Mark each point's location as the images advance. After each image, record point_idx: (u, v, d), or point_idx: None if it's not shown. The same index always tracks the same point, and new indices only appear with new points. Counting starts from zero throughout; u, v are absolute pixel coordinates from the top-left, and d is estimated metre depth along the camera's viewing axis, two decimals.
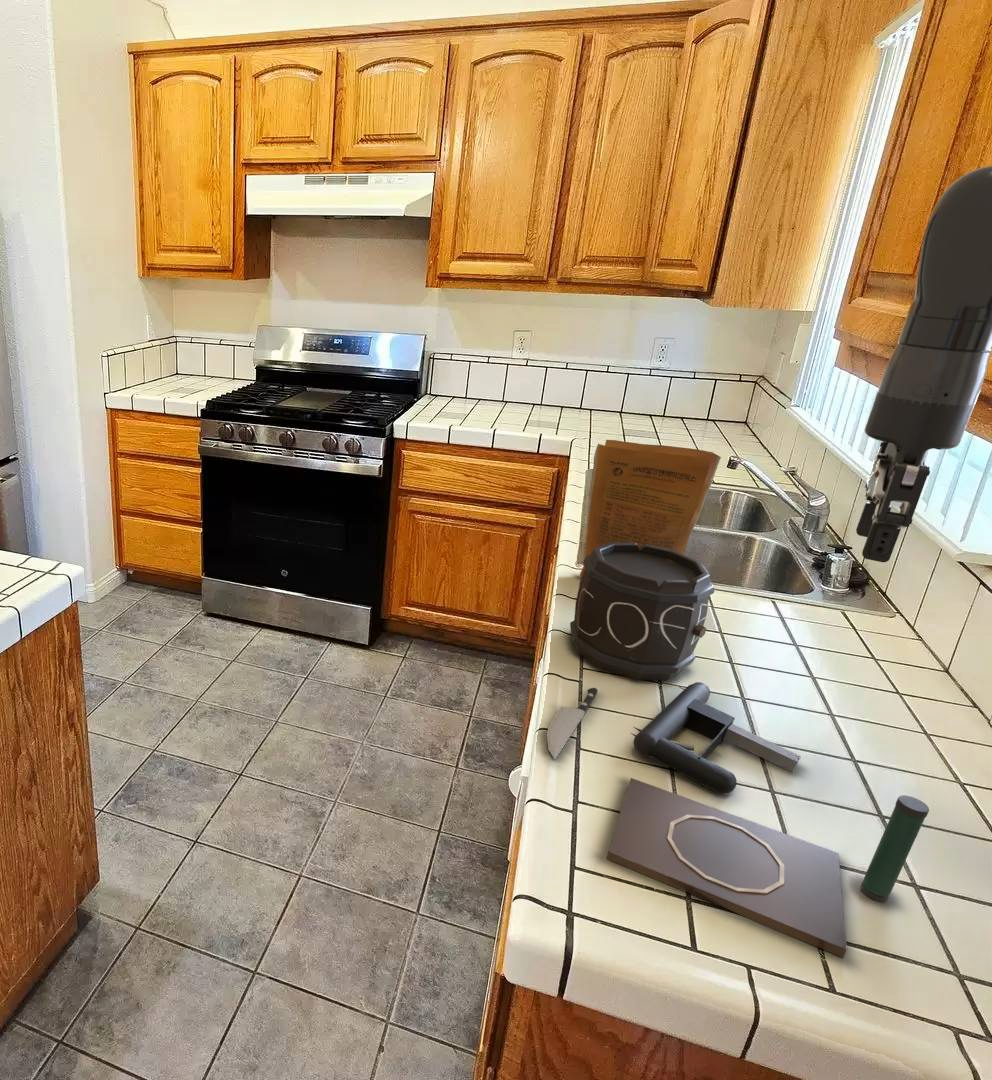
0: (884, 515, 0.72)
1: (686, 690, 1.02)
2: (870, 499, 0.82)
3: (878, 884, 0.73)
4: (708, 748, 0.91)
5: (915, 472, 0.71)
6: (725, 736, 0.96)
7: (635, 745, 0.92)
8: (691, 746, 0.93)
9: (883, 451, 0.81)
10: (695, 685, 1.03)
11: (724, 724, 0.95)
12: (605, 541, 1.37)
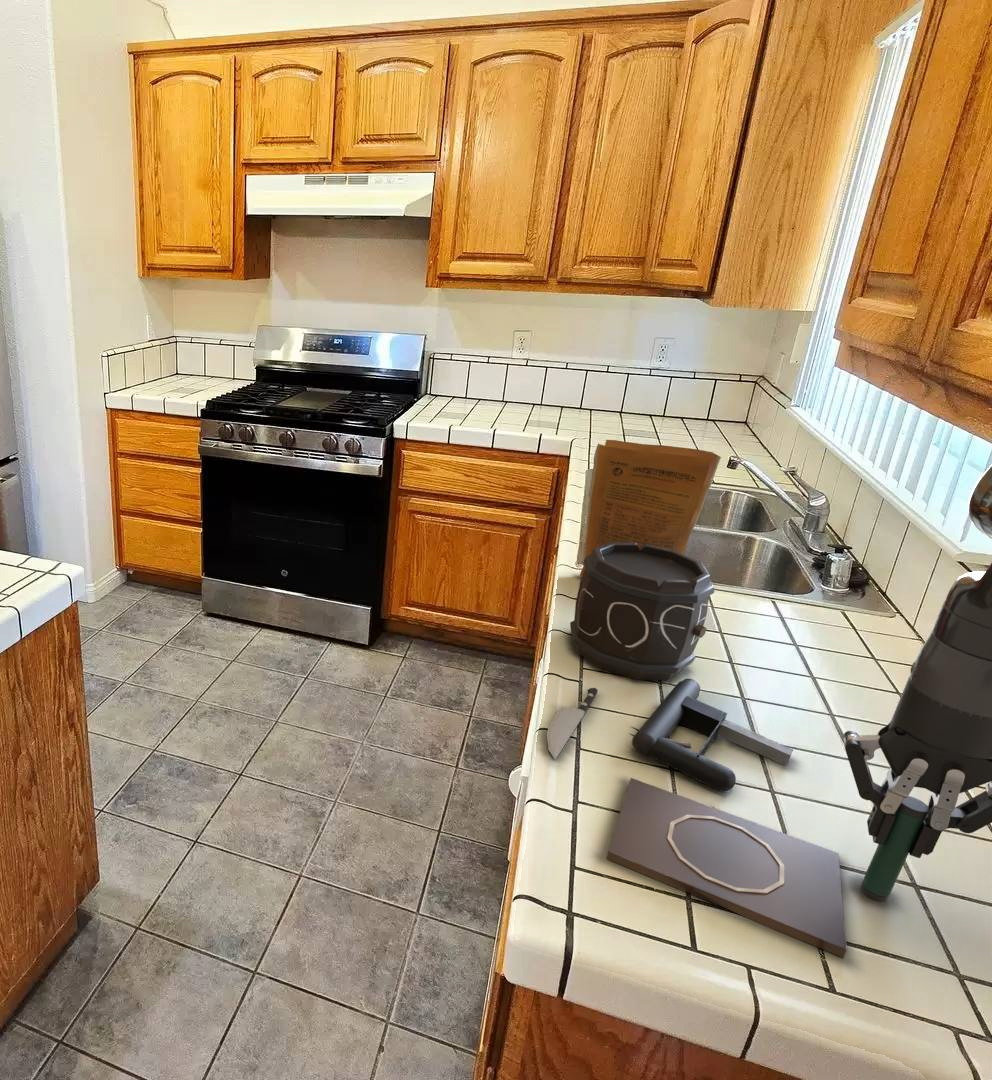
0: None
1: (677, 687, 1.03)
2: None
3: (878, 884, 0.73)
4: (705, 745, 0.91)
5: (845, 744, 0.72)
6: (719, 732, 0.97)
7: (634, 745, 0.92)
8: (688, 744, 0.93)
9: None
10: (686, 681, 1.04)
11: (718, 720, 0.96)
12: (605, 541, 1.37)
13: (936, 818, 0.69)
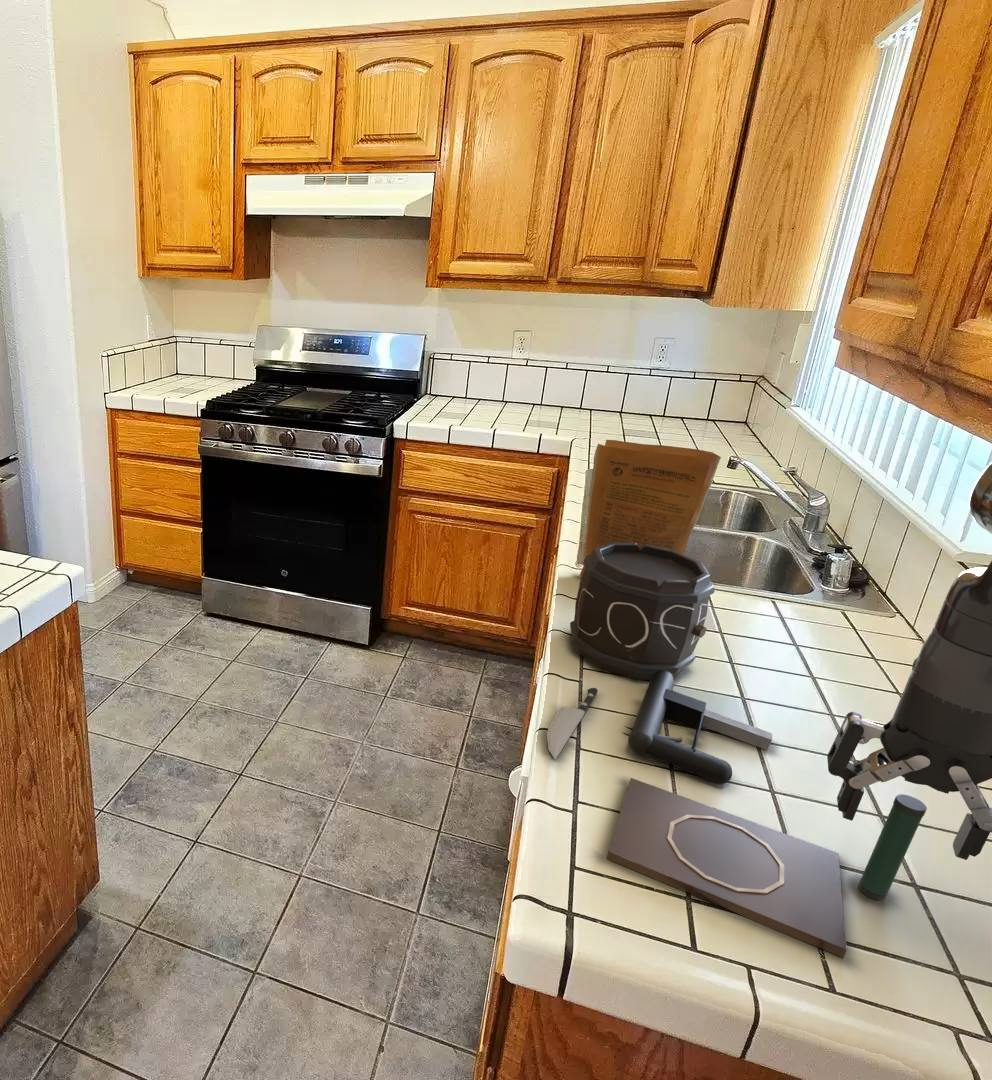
0: (828, 754, 0.74)
1: (655, 680, 1.04)
2: None
3: (876, 883, 0.73)
4: None
5: (847, 722, 0.71)
6: None
7: (632, 745, 0.92)
8: (679, 738, 0.94)
9: None
10: (661, 674, 1.06)
11: (700, 711, 0.98)
12: (605, 541, 1.37)
13: (980, 819, 0.67)
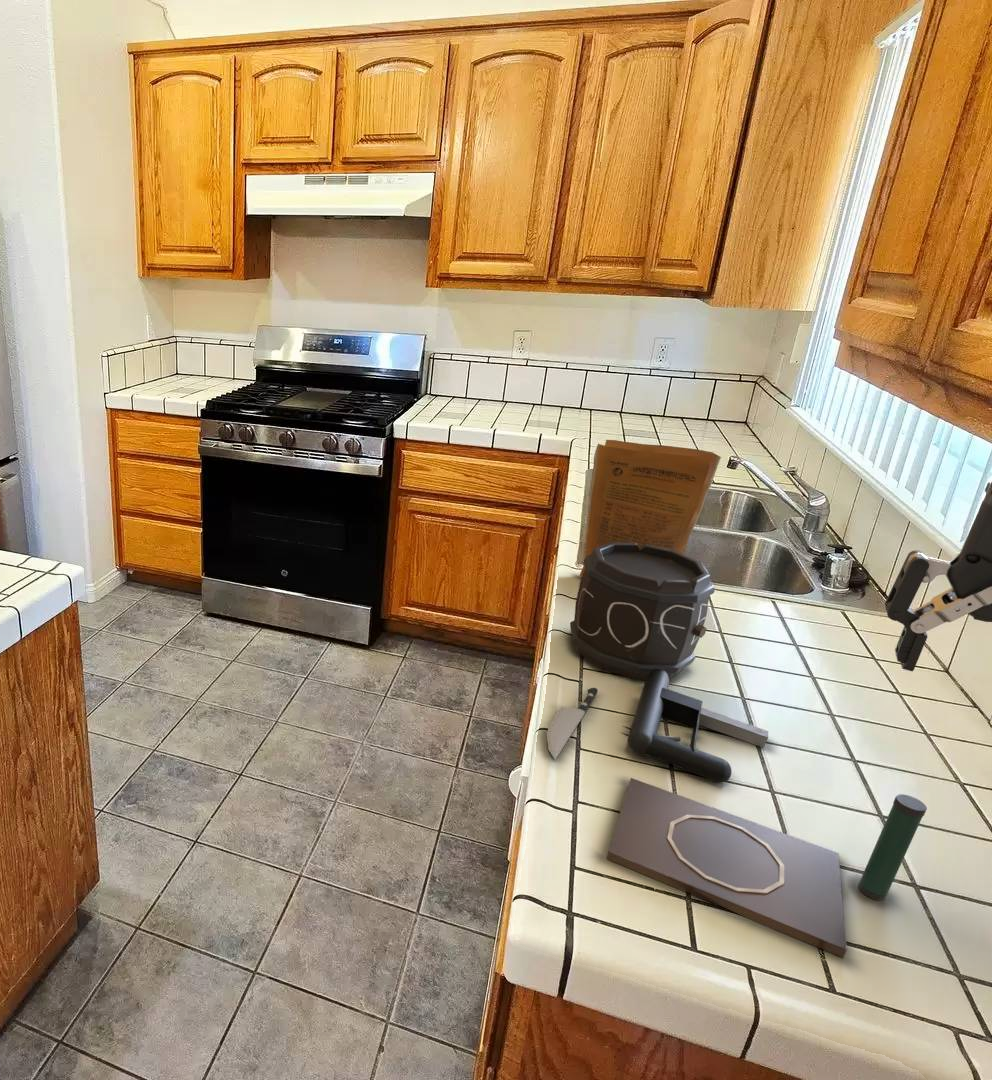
0: (886, 601, 0.68)
1: (651, 679, 1.04)
2: None
3: (876, 883, 0.73)
4: (696, 738, 0.93)
5: (910, 560, 0.65)
6: None
7: (631, 745, 0.92)
8: (677, 737, 0.94)
9: None
10: (656, 672, 1.06)
11: (697, 709, 0.98)
12: (605, 541, 1.37)
13: None
